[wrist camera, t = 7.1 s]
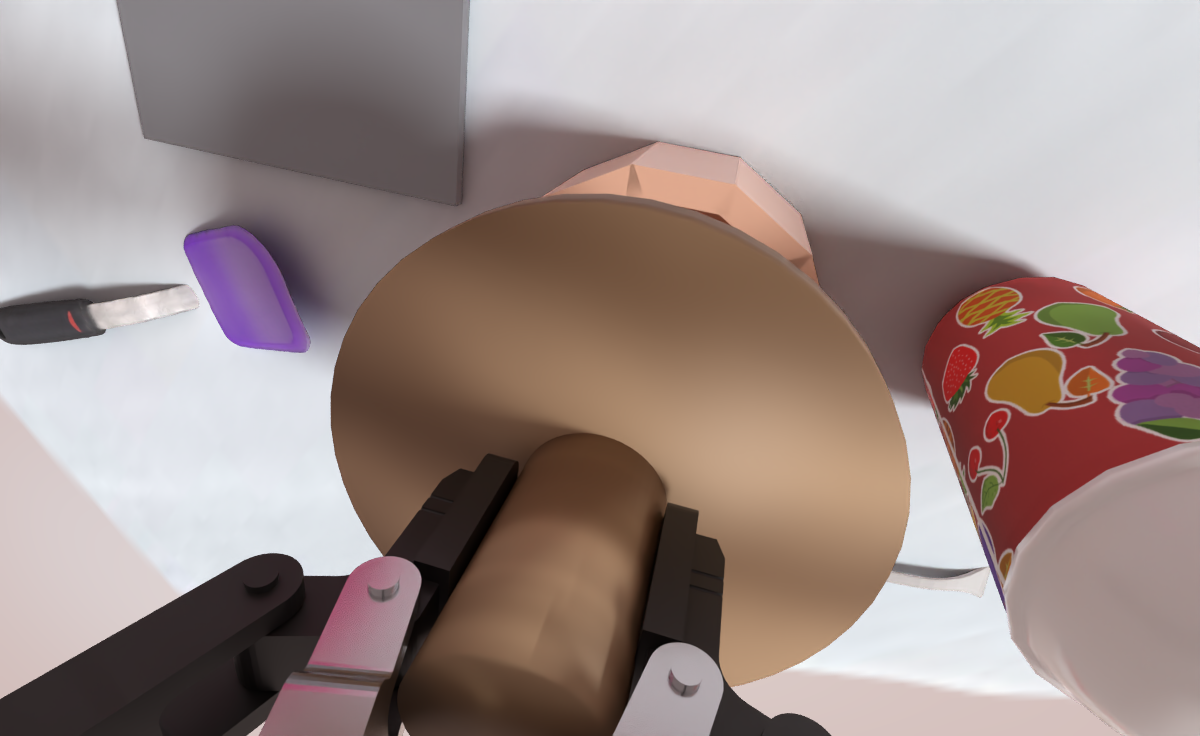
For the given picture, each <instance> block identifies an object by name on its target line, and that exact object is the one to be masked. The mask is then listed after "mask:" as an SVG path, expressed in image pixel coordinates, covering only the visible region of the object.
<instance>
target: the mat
mask: <svg viewBox="0 0 1200 736" xmlns="http://www.w3.org/2000/svg"><path fill="white" fill-rule="evenodd" d="M117 4H118V9H119V14H120V19H121V24H122V29H123V34H124V39H125V44H126V49H127V54H128V59H129V64H130V69H131V74H132V79H133V84H134V89H135V94H136V99H137V104H138V109H139V114H140V120H141V125H142V130H143V135H144V138H145V139H150V140H154V141H159V142H163V143H168V144H173V145H177V146H182V147H186V148H191V149H196V150H200V151H205V152H209V153H214V154H219V155H223V156H228V157H232V158H237V159H242V160H246V161H251V162H255V163H260V164H265V165H269V166H274V167H278V168H283V169H287V170H292V171H297V172H301V173H306V174H310V175H315V176H320V177H324V178H329V179H333V180H338V181H343V182H347V183H352V184H356V185H361V186H366V187H370V188H375V189H379V190H384V191H389V192H393V193H398V194H402V195H407V196H411V197H416V198H421V199H425V200H430V201H434V202H439V203H444V204H448V205H453V206H457V205H459V204H461V200H462V176H463V152H464V127H465V103H466V78H467V54H468V29H469V5H470V0H117Z"/></svg>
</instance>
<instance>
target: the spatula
mask: <svg viewBox="0 0 1200 736" xmlns="http://www.w3.org/2000/svg"><path fill="white" fill-rule="evenodd" d="M184 250H185V253H186V255H187V257H188V260H189V262H190V264H191V266H192V269H193V272H194V274H195V276H196V278H197V280H198V282H199V284H200V286H201V288H202V290H203V292H204V295H205V297H206V298H207V300H208V302H209V304H210V307H211V309H212V311H213V313H214V315H215V317H216V319H217V321H218V323H219V324H220V326H221V328H222V330H223V332H224V334H225V335H226V337H227V338H228V339H229V340H230V341H232V342H233V343H235V344H237V345H239V346H242V347H248V348H255V349H266V350H276V351H284V352H285V351H286V352H287V351H288V352H298V353H304V352H306V351H308V349H309V347H310V337H309V335H308V333H307V331H306V329H305V327H304V325H303V323H302V320H301V318H300V316H299V314H298V311H297V309H296V307H295V305H294V302H293V300H292V298H291V296H290V293H289V291H288V288H287V286H286V283H285V280H284V278H283V276H282V274H281V271H280V269H279V268H278V266H277V264H276V262H275V261H274V260H273V258H272V256H271V255H270V253H269V252H268V251H267V249H266V248H265V247H264V246H263V245H262V244H261V243H260V242H259V241H258V240H257V238H256V237H255V236H254V235H252V234H251V233H250V232H248V231H247V230H245V229H244V228H241V227H240V226H235V225H232V226H227V227H223V228H219V229H212V230H211V229H210V230H205V231H201V232H198V233H194V234H190V235H188V236H187V237H186V238H185V241H184ZM198 307H199V300H198V297H197V295H196V294H195V292H194V291H193V290H192V288H191V287H189V286H188V285H180V286H176V287H173V288H169V289H165V290H160V291H156V292H152V293H147V294H142V295H138V296H134V297H128V298H123V299H118V300H112V301H105V302H101V303H93V302H91V301H89V300H86V299H76V300H64V301H52V302H42V303H32V304H24V305H16V306H9V307H4V308H0V339H2V340H3V341H5V342H7V343H10V344H16V345H27V344H41V343H50V342H59V341H66V340H73V339H80V338H89V337H92V336H98V335H102V334H104V333H105V331H106V329H110V328H115V327H121V326H124V325H132V324H136V323H142V322H147V321H150V320H153V319H158V318H162V317H166V316H170V315H174V314H178V313H181V312H186V311H189V310H192V309H196V308H198Z"/></svg>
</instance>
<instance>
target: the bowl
mask: <svg viewBox="0 0 1200 736" xmlns="http://www.w3.org/2000/svg"><path fill="white" fill-rule="evenodd" d="M560 194H615V195H623V196H631V197H638V198H646V199H653V200H656V201H660V202H664V203H668V204H671V205H675V206H679V207H682V208H686V209H690V210H694V211H697V212H699V213H702V214H704V215H706V216H709V217H711V218H713V219H716V220H718V221H721V222H723V223H725V224H728V225H730V226H733V227H735V228H737V229H739V230H741V231H743V232H744V233H746V234H748V235H750V236H751V237H753V238H755V239H756V240H758V241H760V242H762V243H763V244H765V245H767V246H768V247H770V248H772V249H773V250H775V251H777V252H778V253H780V254H781V255H782V256H783V257H785V258H786V259H787V260H789V261H790V262H791V263H792V264H794V265H795V266H796V267H797V268H799V269H800V270H801V271H803V272H804V273H805V274H806V275H808V276H809V277H810V278H811V279H813V280H814V281H815V282H816V283H817V284H818V286H819V282H818V278H817V274H816V270H815V266H814V261H813V255H812V251H811V248H810V244H809V241H808V237H807V234H806V230H805V227H804V223H803V219H802V216H801V214H800V213H799V212H798V211H797V210H796V209H795V208H794V207H793V206H792V205H790V204H789V203H788V202H787V201H786V200H785V199H784V198H783V197H782V196H781V195H780V194H779V193H778V192H777V191H776V190H774V189H773V188H772V187H771V186H770V185H769V184H768V183H767V182H766V181H765V180H764V179H763V178H762V177H761V176H759V175H758V174H757V173H756V172H755V171H754V170H753V169H752V168H751V167H750V166H749V165H748V164H747V163H746V162H745V161H743V160H742V159H741V158H740V157H735V156H730V155H725V154H720V153H714V152H709V151H704V150H699V149H694V148H689V147H683V146H678V145H673V144H668V143H663V142H660V141H659V142H656V143H654V144H651V145H648V146H646V147H643V148H641V149H638V150H635V151H633V152H630V153H627V154H625V155H622V156H619V157H617V158H614V159H612V160H609V161H606V162H604V163H601V164H598V165H596V166H593V167H590V168H588V169H584V170H583V171H581V172H580V173H578V174H577V175H575V176H573V177H572V178H570V179H569V180H567V181H566V182H564V183H562V184H561V185H559V186H558V187H556V188H555V189H553V190H552V191H550V192H548V193H547V194H545V195H544V196H542V197H547V196H553V195H560ZM819 287H820V286H819Z"/></svg>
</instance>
